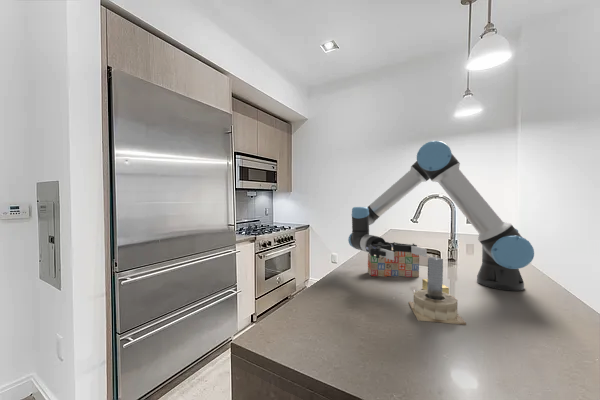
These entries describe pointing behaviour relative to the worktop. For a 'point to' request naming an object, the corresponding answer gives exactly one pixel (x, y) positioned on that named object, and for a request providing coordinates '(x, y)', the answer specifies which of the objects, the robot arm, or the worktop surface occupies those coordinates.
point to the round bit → (435, 278)
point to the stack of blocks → (394, 265)
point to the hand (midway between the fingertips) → (409, 254)
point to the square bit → (425, 286)
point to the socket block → (436, 308)
